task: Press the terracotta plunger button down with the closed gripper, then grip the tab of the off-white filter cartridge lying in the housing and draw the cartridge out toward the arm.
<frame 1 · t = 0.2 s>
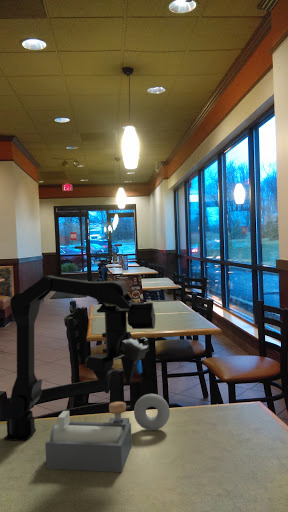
hand: (118, 387, 109), 14 cm above the table, tool pointing down, fingers open, 9 cm apart
cartridge: (86, 433, 101), point 6 cm above the table, slide at 0.0 cm
donut: (152, 430, 114), on the table
housing: (90, 457, 101), on the table
plunger: (117, 415, 109), point 7 cm above the table, slide at 0.0 cm
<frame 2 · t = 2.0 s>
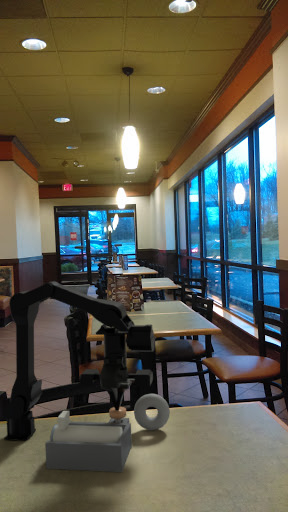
hand: (117, 409, 109), 8 cm above the table, tool pointing down, fingers closed, pressing on plunger
plunger: (118, 420, 109), point 5 cm above the table, slide at 1.4 cm, touching gripper
everything else where it was.
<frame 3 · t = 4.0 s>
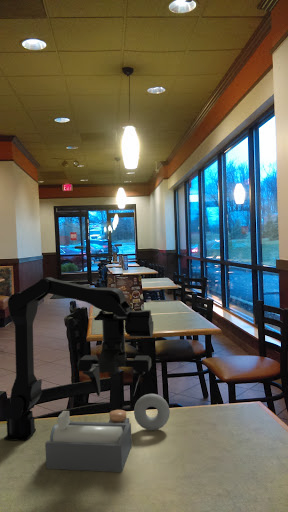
hand: (115, 395, 108), 12 cm above the table, tool pointing down, fingers open, 9 cm apart
plunger: (118, 423, 109), point 5 cm above the table, slide at 2.2 cm
everything else where it was.
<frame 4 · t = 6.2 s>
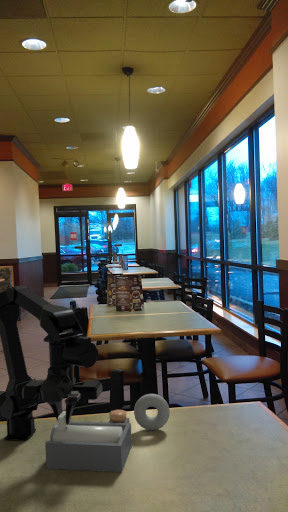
hand: (64, 424, 102), 8 cm above the table, tool pointing down, fingers closed on cartridge, 2 cm apart
cartridge: (86, 433, 101), point 6 cm above the table, slide at 0.0 cm, touching gripper
everything else where it was.
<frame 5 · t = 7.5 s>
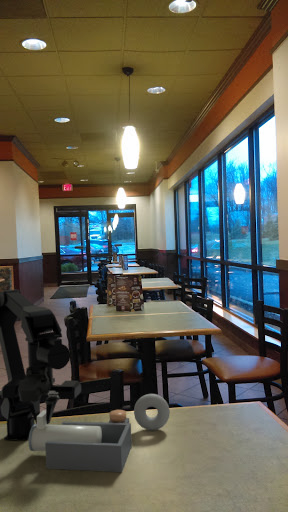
hand: (43, 423, 102), 8 cm above the table, tool pointing down, fingers closed
cartridge: (65, 432, 102), point 6 cm above the table, slide at 5.4 cm
everything else where it was.
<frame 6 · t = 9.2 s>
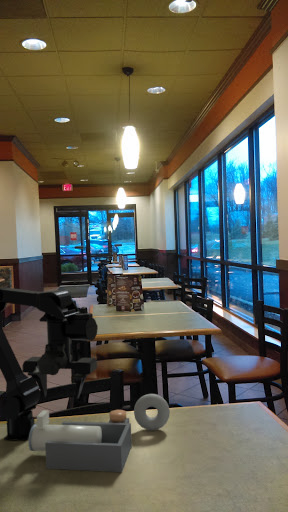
hand: (61, 397, 108), 12 cm above the table, tool pointing down, fingers open, 9 cm apart
nothing on the table moved.
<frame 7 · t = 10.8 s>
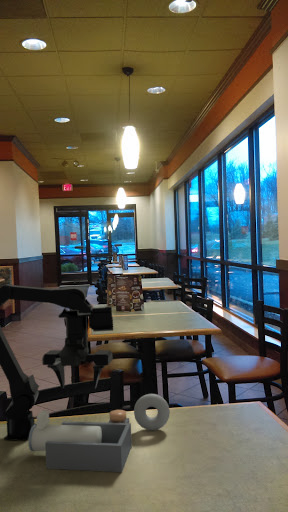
hand: (78, 388, 115), 12 cm above the table, tool pointing down, fingers open, 9 cm apart
nothing on the table moved.
at the end: plunger slide at 2.2 cm; cartridge slide at 5.4 cm; the gripper is holding nothing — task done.
